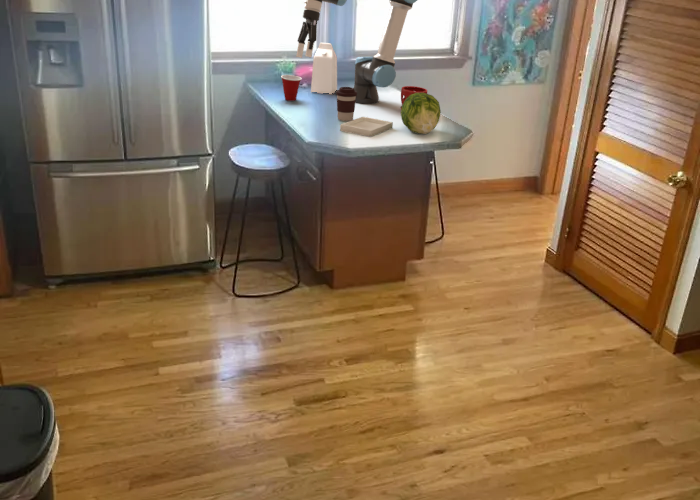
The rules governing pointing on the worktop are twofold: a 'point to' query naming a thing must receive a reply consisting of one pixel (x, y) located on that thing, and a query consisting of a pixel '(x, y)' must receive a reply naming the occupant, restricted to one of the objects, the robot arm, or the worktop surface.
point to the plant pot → (410, 92)
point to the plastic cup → (290, 86)
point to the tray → (366, 126)
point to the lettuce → (420, 113)
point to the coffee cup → (346, 103)
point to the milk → (324, 70)
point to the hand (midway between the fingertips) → (303, 57)
